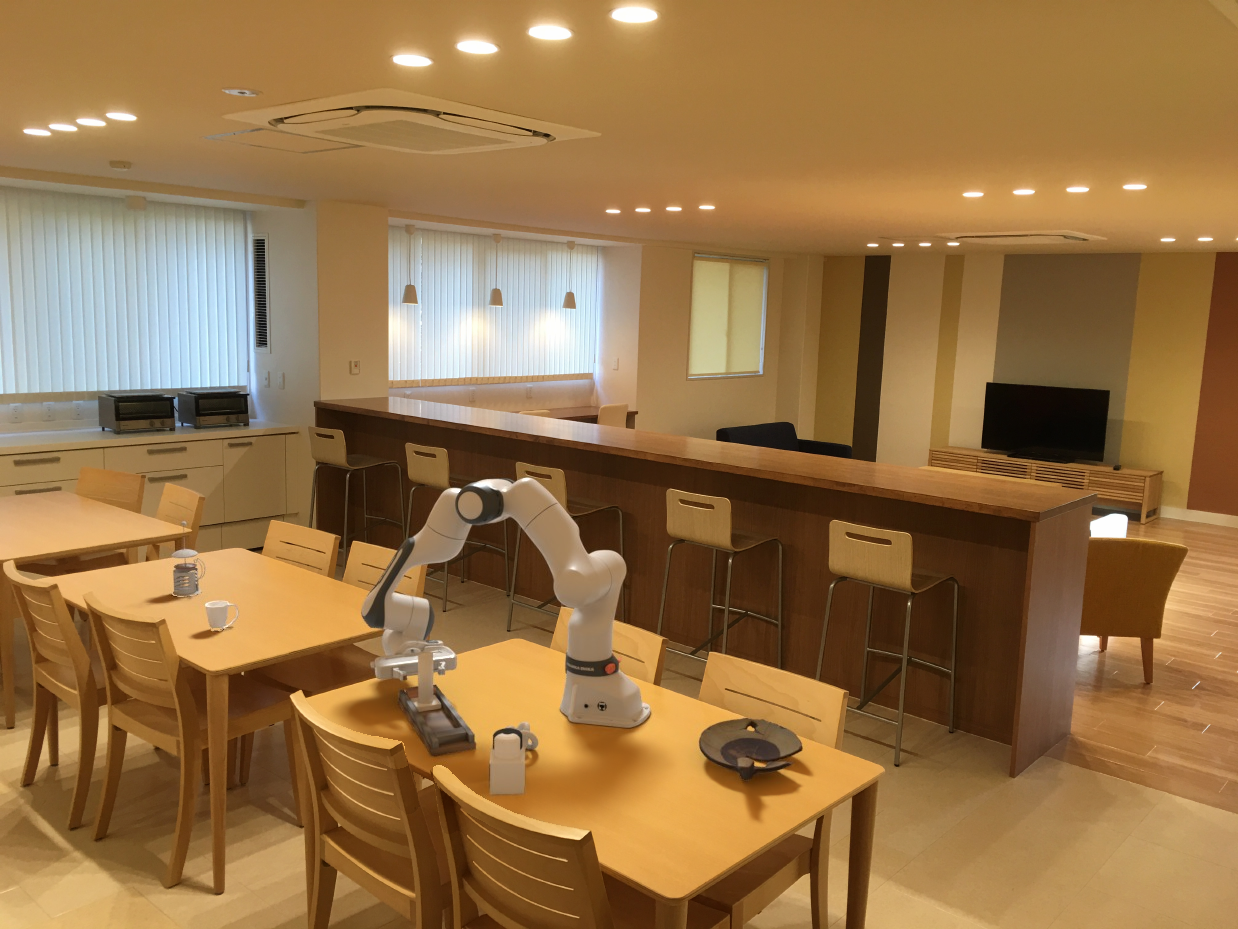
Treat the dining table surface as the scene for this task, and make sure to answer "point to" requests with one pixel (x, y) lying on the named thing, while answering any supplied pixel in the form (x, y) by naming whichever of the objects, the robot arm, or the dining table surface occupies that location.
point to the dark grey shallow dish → (749, 746)
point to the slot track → (437, 724)
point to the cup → (219, 614)
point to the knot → (526, 736)
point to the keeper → (425, 684)
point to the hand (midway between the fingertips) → (423, 674)
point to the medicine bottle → (507, 763)
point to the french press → (186, 572)
